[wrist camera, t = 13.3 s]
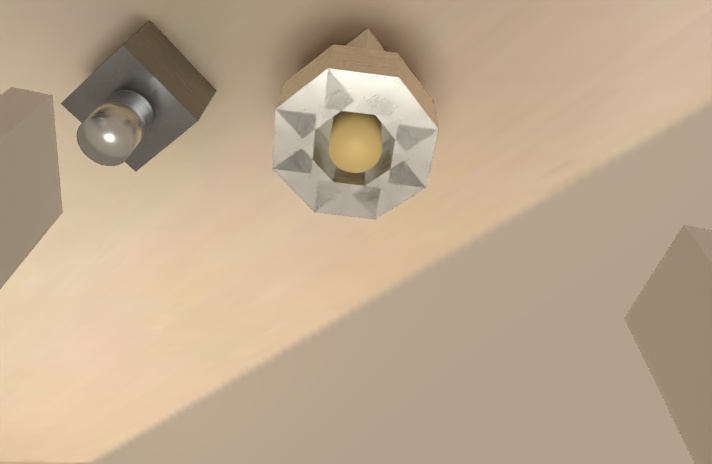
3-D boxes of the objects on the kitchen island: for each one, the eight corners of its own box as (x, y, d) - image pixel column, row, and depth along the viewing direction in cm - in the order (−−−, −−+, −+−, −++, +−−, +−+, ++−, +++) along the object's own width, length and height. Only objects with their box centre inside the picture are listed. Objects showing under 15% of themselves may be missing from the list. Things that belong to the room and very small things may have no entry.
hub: (298, 81, 41) (280, 140, 33) (367, 27, 39) (364, 77, 31) (352, 145, 43) (346, 212, 36) (420, 97, 41) (429, 159, 34)
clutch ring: (253, 107, 37) (240, 135, 33) (369, 15, 33) (368, 37, 30) (344, 206, 41) (341, 240, 37) (457, 133, 37) (464, 163, 34)
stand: (92, 75, 41) (27, 133, 34) (149, 20, 39) (94, 69, 31) (158, 138, 44) (112, 205, 36) (216, 91, 41) (179, 151, 34)
